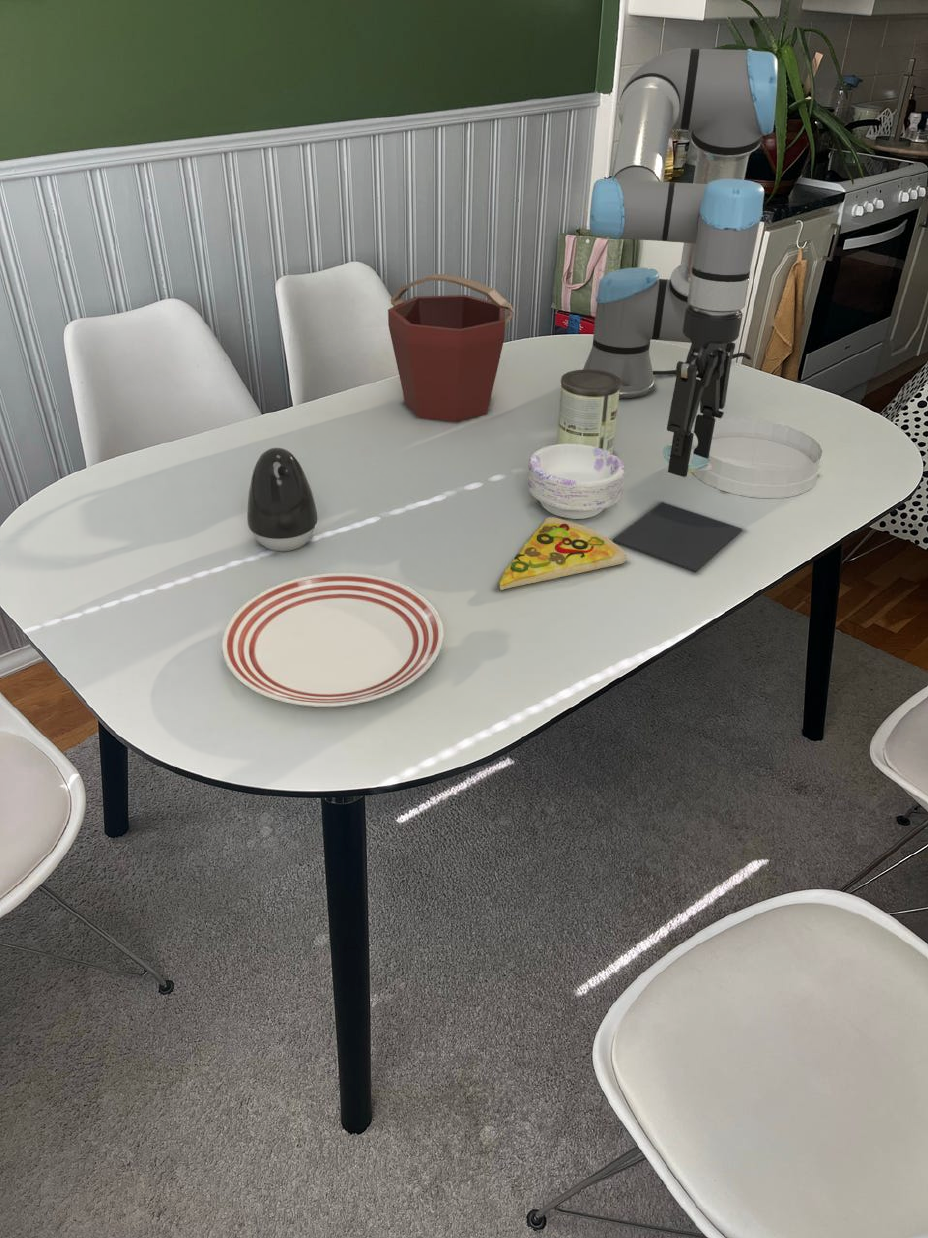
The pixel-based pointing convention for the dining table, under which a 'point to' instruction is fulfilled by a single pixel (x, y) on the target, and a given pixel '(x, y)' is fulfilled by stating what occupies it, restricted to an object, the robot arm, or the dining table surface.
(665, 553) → the placemat
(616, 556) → the pizza slice
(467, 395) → the bucket
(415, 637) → the dinner plate
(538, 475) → the paper bowls
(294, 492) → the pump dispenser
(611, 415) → the coffee can
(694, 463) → the pacifier
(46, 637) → the dining table surface
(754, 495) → the dish
